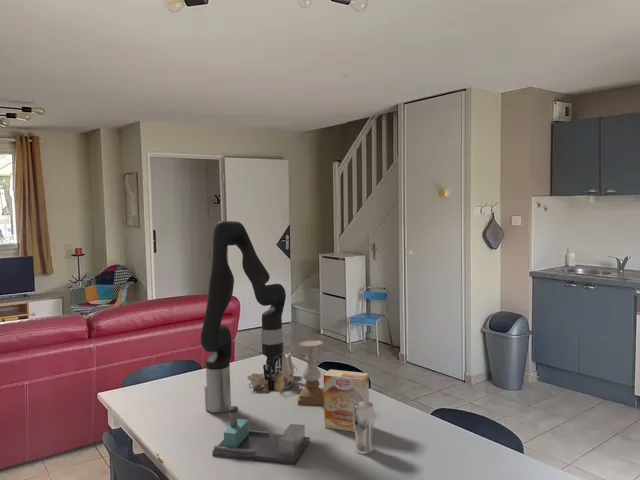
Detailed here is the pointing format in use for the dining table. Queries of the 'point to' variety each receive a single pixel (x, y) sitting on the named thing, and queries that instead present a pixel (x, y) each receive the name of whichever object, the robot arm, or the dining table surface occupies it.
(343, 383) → the coffeecake box
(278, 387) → the block
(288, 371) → the chinaware
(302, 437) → the frame
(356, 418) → the beer glass
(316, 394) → the candle holder
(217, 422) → the dining table surface
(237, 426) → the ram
